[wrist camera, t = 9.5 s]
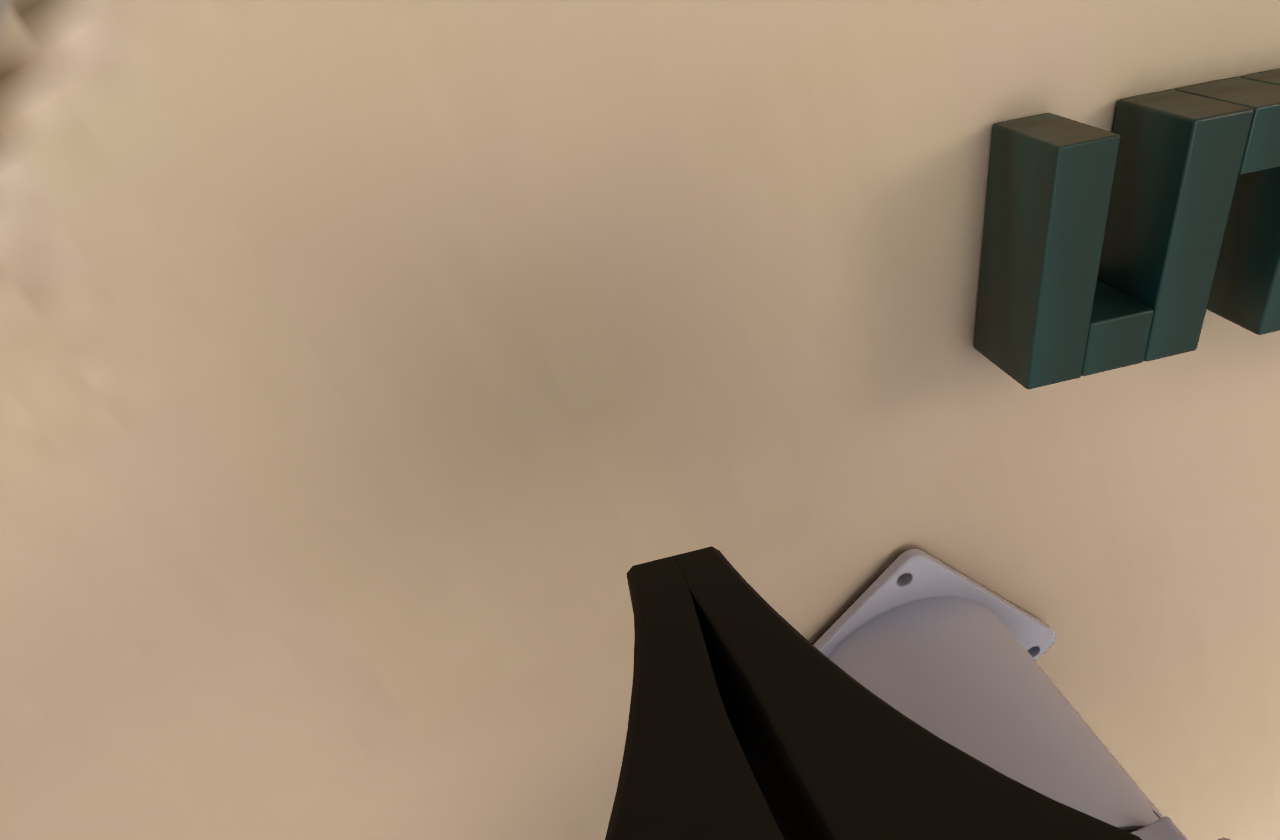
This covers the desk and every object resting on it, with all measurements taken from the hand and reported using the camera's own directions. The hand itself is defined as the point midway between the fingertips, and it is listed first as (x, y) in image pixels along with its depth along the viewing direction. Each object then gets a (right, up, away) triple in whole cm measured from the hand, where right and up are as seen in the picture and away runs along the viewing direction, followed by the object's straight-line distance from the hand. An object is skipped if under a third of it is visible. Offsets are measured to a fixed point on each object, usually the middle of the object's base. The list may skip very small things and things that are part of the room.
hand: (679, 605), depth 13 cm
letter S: (+12, +8, +9) cm, 17 cm away
